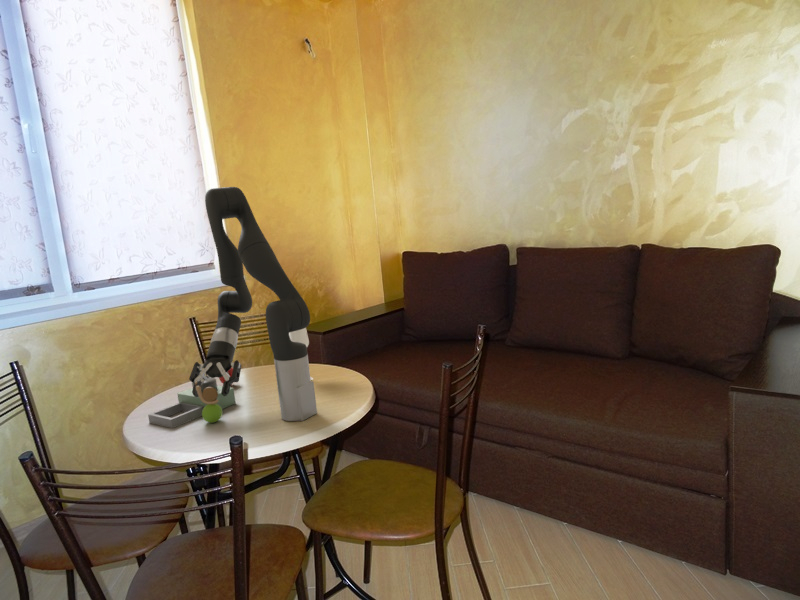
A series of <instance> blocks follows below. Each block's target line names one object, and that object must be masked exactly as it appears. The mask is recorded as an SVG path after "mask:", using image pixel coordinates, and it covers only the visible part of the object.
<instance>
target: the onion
mask: <svg viewBox="0 0 800 600" xmlns="http://www.w3.org/2000/svg"><path fill="white" fill-rule="evenodd" d="M232 372H233V368H231V369H230V370H229V371H228V374H229V376H230V377H232ZM218 380H219V381H220V383H222V384H223V383H224V381H226V380H225V379H224V377H223V376H222V377H221V378H218ZM233 383H234V382H233ZM233 383H232V384H231V386H232V385H233Z"/></svg>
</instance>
